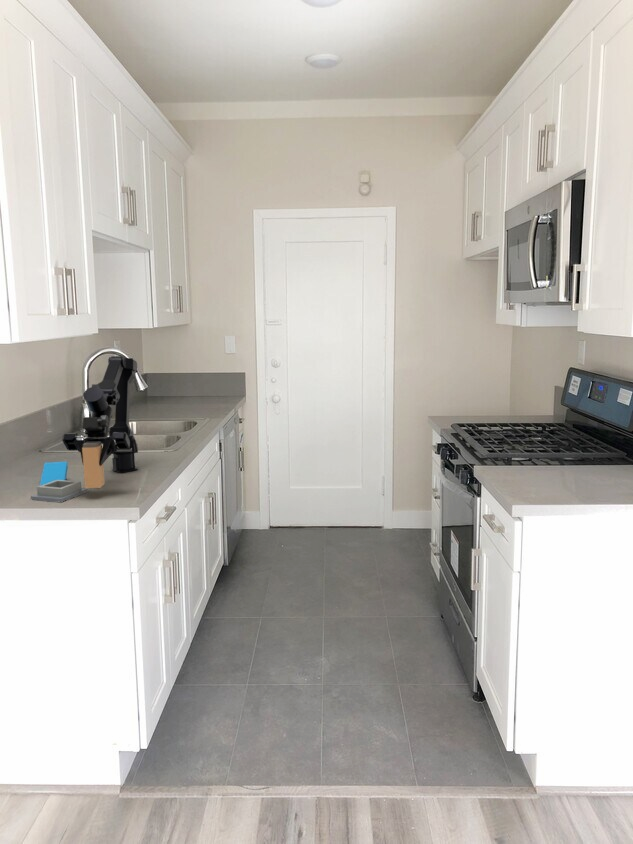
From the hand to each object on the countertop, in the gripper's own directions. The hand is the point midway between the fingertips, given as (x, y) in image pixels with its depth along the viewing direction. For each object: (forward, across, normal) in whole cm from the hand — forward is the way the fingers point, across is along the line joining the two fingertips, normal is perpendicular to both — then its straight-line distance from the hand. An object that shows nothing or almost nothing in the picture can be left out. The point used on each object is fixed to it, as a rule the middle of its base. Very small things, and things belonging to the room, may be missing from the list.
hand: (91, 465), depth 200 cm
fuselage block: (+4, 0, +6) cm, 7 cm away
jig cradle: (+5, -11, +9) cm, 15 cm away
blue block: (-6, -18, +21) cm, 28 cm away
